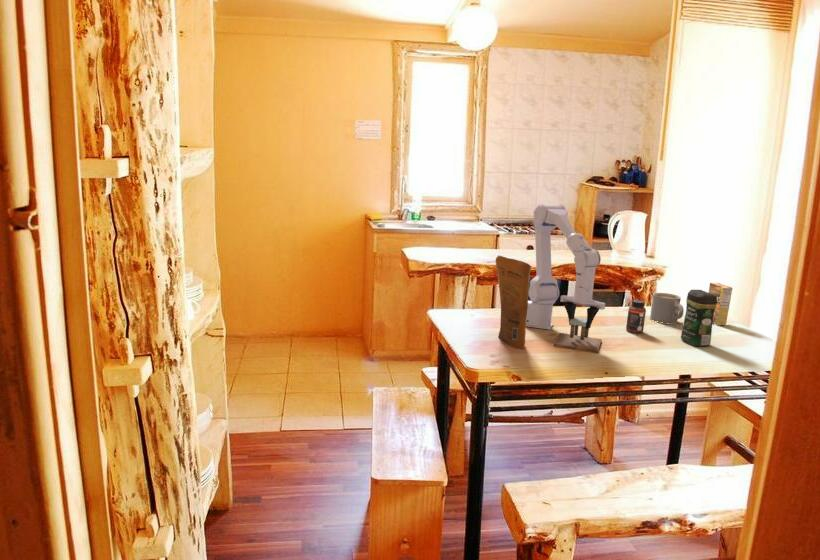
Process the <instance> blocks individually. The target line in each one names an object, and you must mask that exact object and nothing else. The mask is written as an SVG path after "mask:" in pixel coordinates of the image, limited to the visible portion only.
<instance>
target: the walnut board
mask: <svg viewBox="0 0 820 560" xmlns="http://www.w3.org/2000/svg"><path fill="white" fill-rule="evenodd" d="M580 336H581V335H577V336H576V335H574V337H573V338H570V333H563V332H559V333H558V335H557V337H556V339H555V340H554V342H553V347H559V348H564V349H571V350H575V351H583V352H588V351H589V353H594V352H595V353H596V354H598V353H599V349H600V347H601V344H602V341H603V340H602V338H595V337H589V336H588V338H585V337H584V340H580Z"/></svg>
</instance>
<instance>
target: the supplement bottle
mask: <svg viewBox="0 0 820 560" xmlns="http://www.w3.org/2000/svg"><path fill="white" fill-rule="evenodd" d="M631 304H632V305H630V306H629V307H628V311H627V318H626V326H625V330H626V331H627V332H629V333H633V334H642V333H643V332H644V328H645V321H646V320H645V319H646V313H647V309H646V308H645V301H643V300H638V299H634V300H632V301H631Z"/></svg>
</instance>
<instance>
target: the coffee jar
mask: <svg viewBox="0 0 820 560" xmlns="http://www.w3.org/2000/svg"><path fill="white" fill-rule="evenodd" d="M708 292H709V291H705V290H703V289H690V290H689V291H688V292H687V295H686V300H685V301H686V306H685V307H686V309H685V315H684V321H683V325H682V329H681V334H680V339H681V340H682V341H683V342H685V343H687V344H688V345H691V346H695V347H701V348H702V347H703V348H704V347H708V346H710V345H711V341H712V334H713V333H712V332H713V325H714V324H713V315H714V311H715V308H716V305H717V297H716V296H715V295H713V294H710V293H708Z"/></svg>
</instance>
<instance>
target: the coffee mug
mask: <svg viewBox="0 0 820 560" xmlns="http://www.w3.org/2000/svg"><path fill="white" fill-rule="evenodd" d="M684 310H685V309H684V306H683V304H681V296H679V295H677V294H674V293H673V294H672V293H669V292H668V293H667V292H665V293H664V292H655V293H653V295H652V303H651V309H650V316H649V317H650V318H651V319H652V320H654V321H653V322H655V321H658V322H657V323H659V322H663V323H662V324H664V323H676V324H677V323H678V320H680V319H681V318H682V317H683V316H684V312H685V311H684ZM650 318H649V319H650ZM651 319H650V320H651ZM652 320H651V321H652Z"/></svg>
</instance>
